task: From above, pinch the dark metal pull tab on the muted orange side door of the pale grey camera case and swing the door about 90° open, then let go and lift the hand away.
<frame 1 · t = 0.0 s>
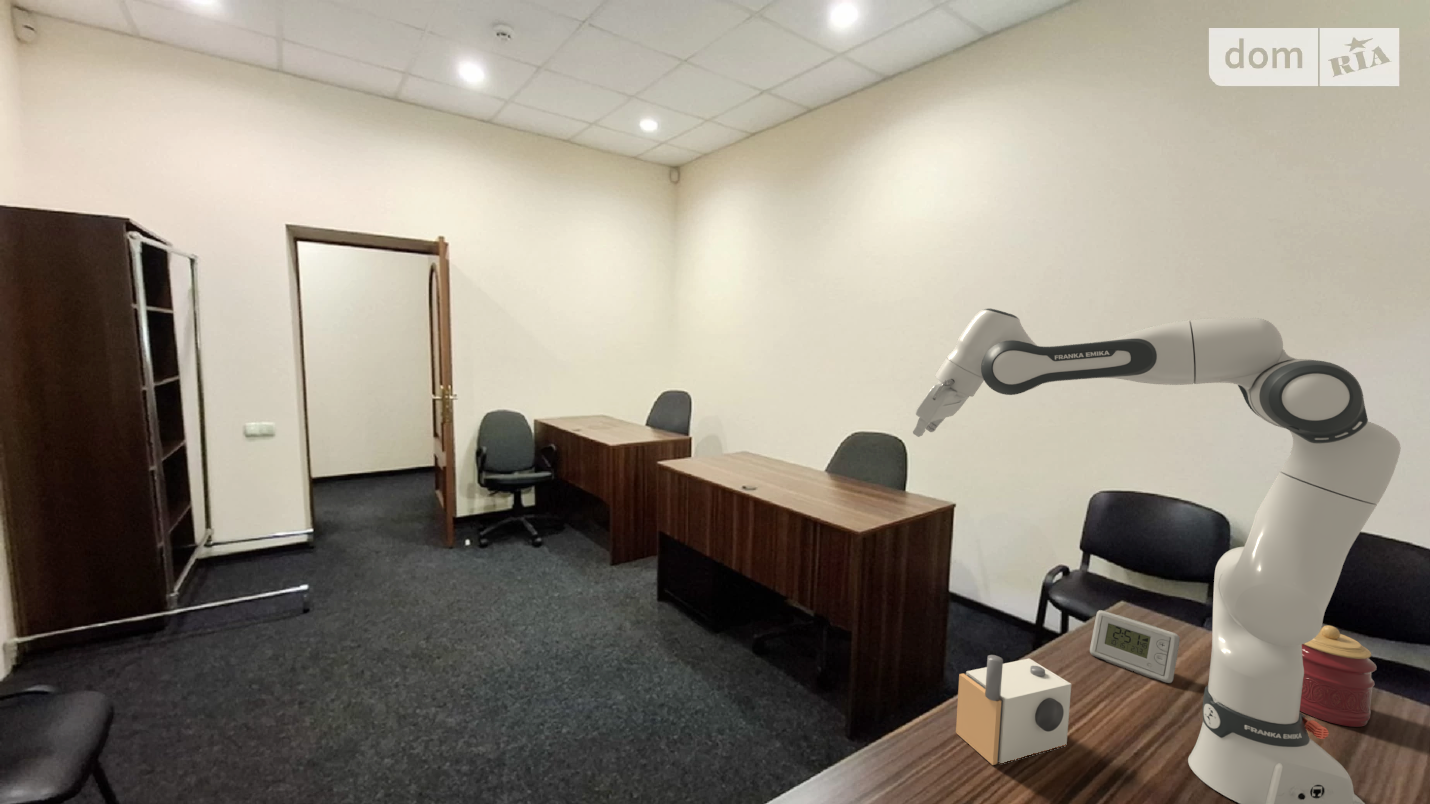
hand: (923, 432, 124), 54 cm above the table, tool tilted 30°, fingers open, 8 cm apart
digital clock: (1131, 667, 131), on the table
camera case: (1012, 738, 105), on the table
canister: (1321, 708, 116), on the table
side door: (978, 699, 101), point 9 cm above the table, hinge at 0.0°
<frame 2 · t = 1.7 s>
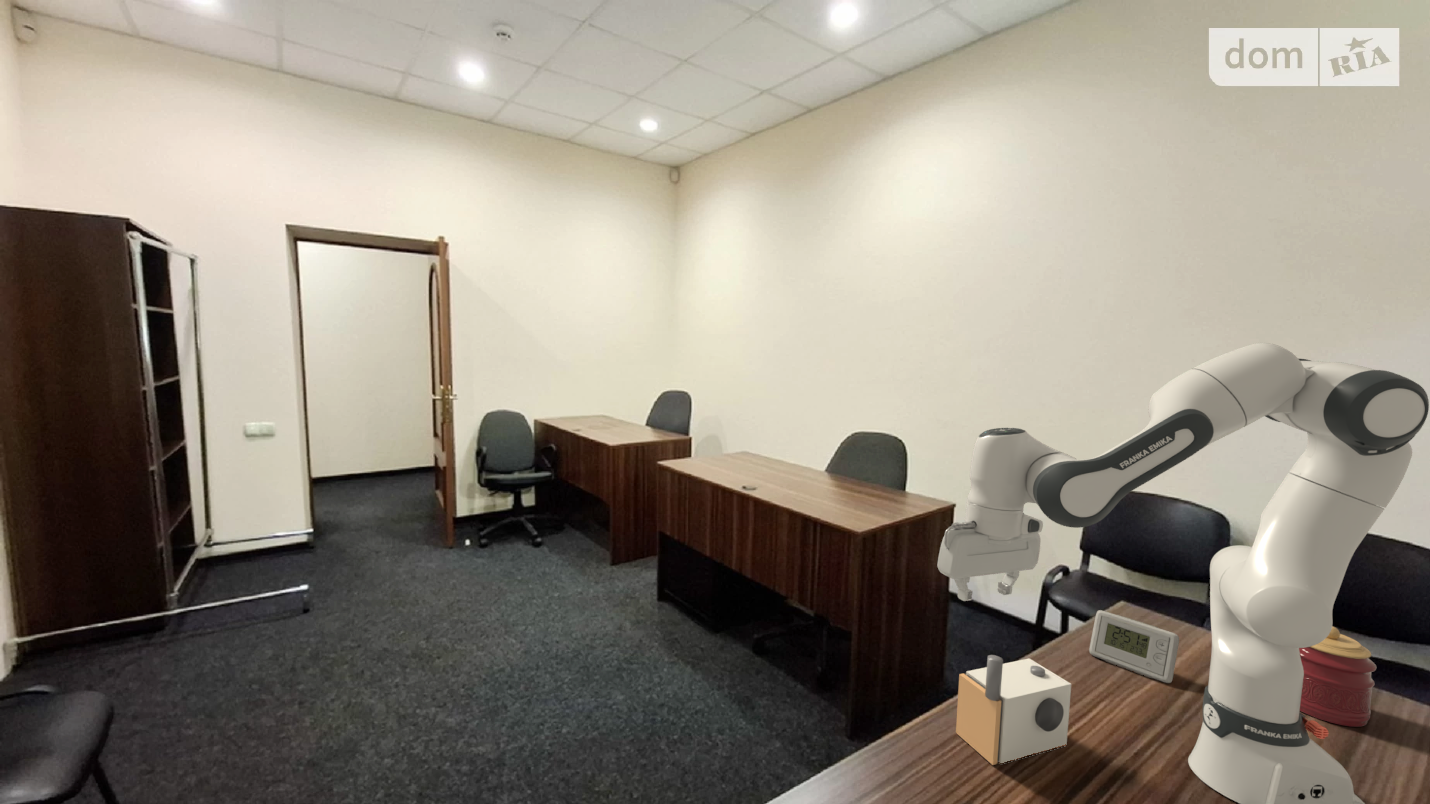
hand: (984, 596, 99), 29 cm above the table, tool pointing down, fingers open, 8 cm apart
nothing on the table moved.
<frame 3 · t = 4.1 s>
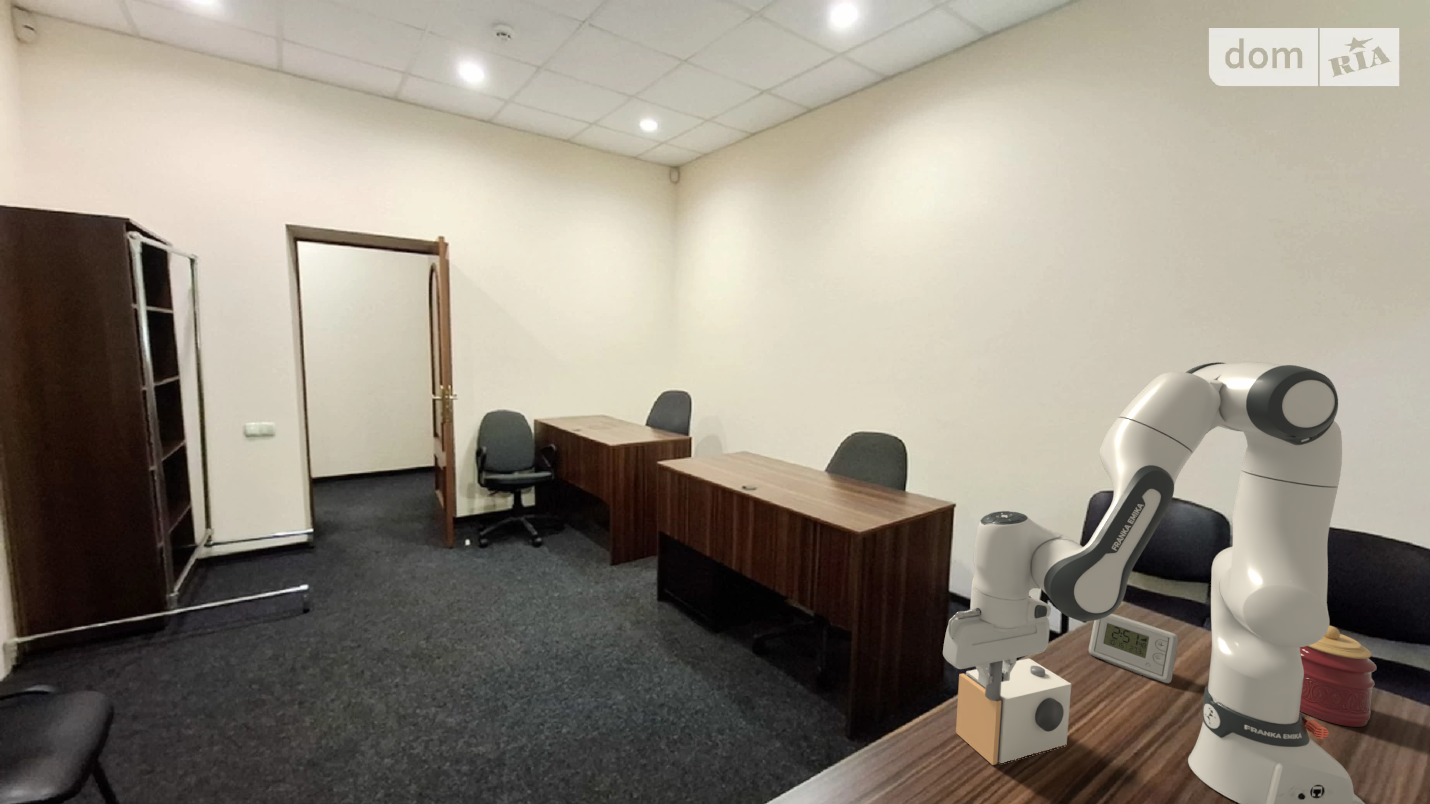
hand: (993, 681, 98), 15 cm above the table, tool pointing down, fingers closed on side door, 2 cm apart
side door: (978, 699, 101), point 9 cm above the table, hinge at 0.0°, touching gripper
everything else where it was.
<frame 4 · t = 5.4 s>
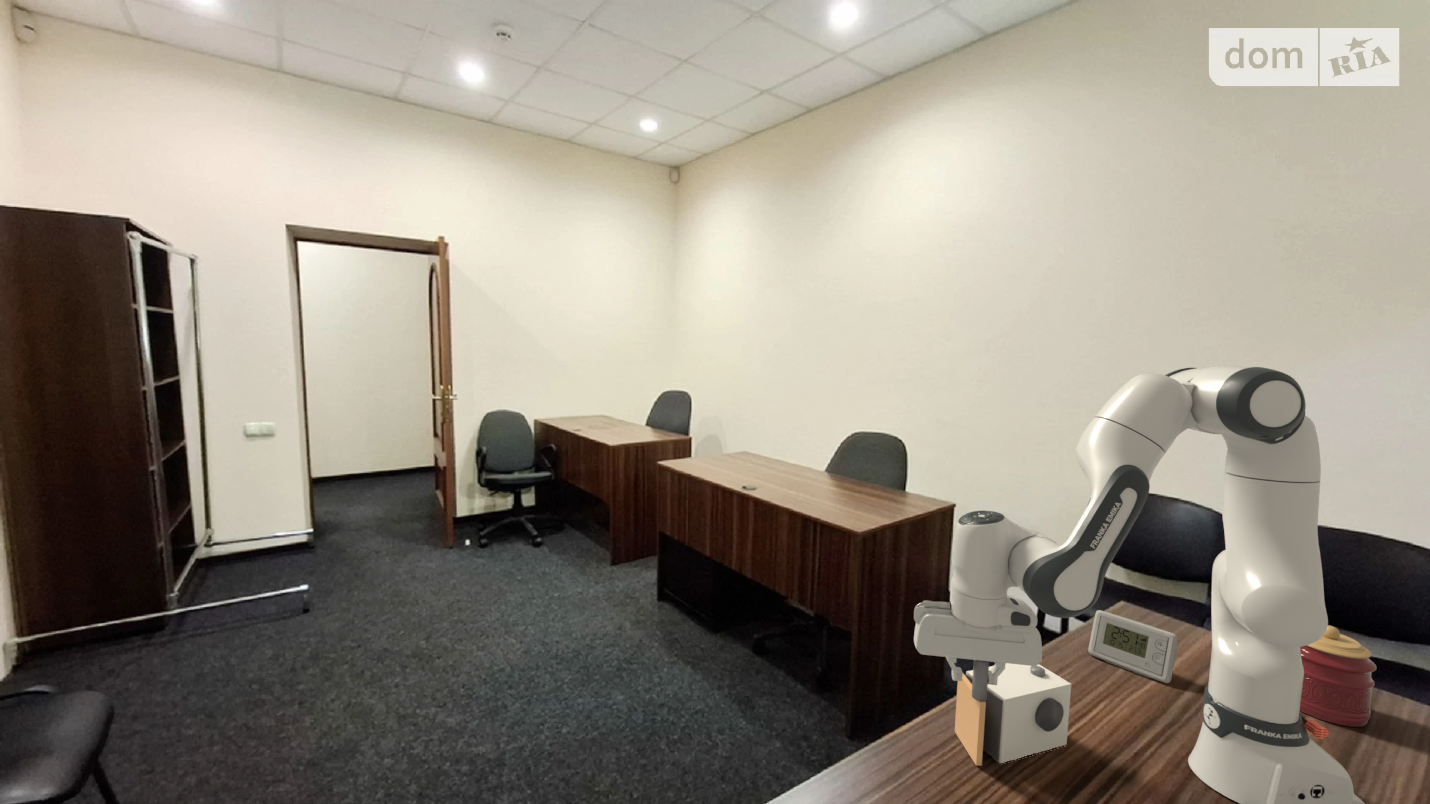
hand: (973, 681, 98), 15 cm above the table, tool pointing down, fingers open, 4 cm apart
side door: (970, 699, 101), point 9 cm above the table, hinge at 19.2°, touching gripper
everything else where it was.
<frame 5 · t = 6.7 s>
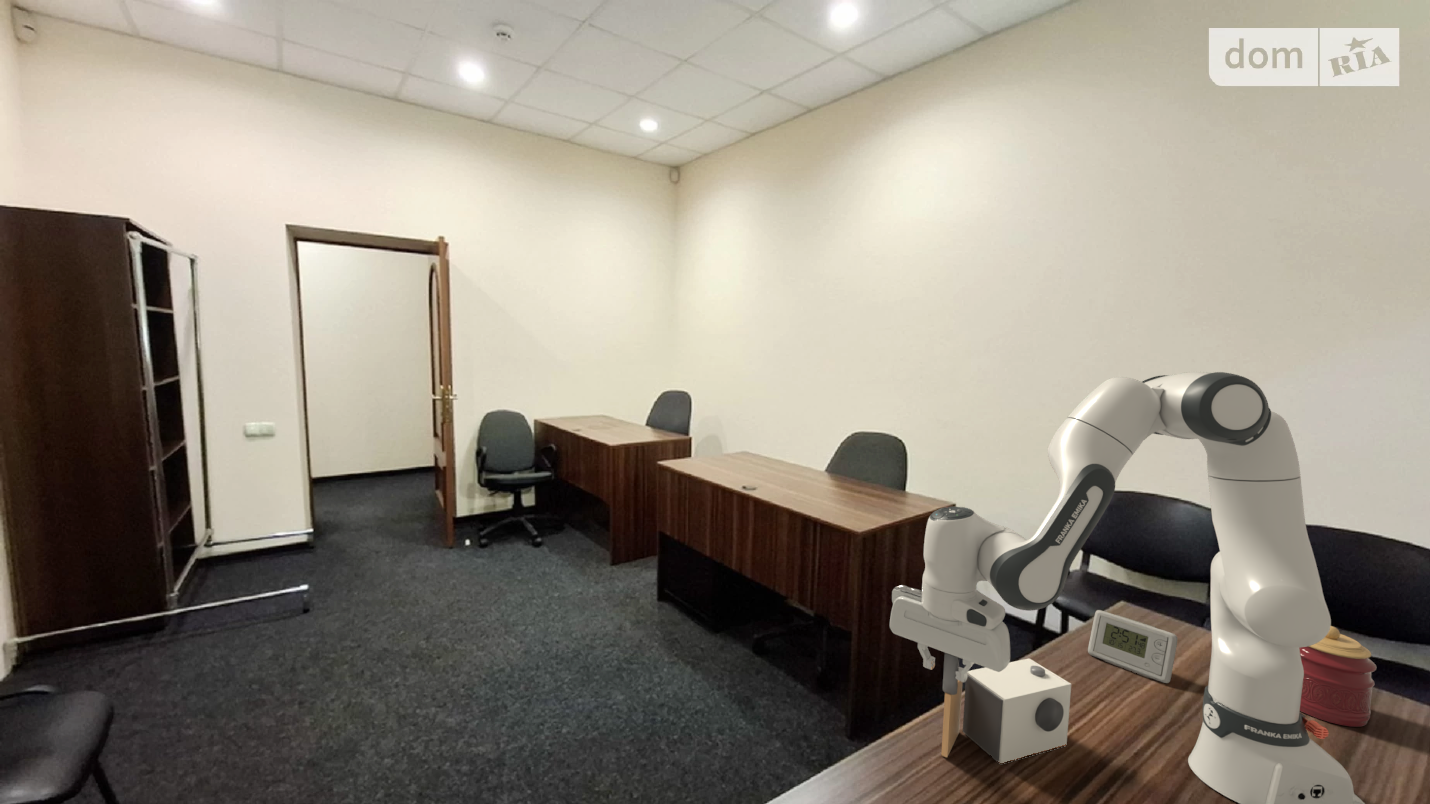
hand: (944, 673, 100), 15 cm above the table, tool pointing down, fingers open, 4 cm apart
side door: (953, 695, 102), point 9 cm above the table, hinge at 55.9°, touching gripper
everything else where it was.
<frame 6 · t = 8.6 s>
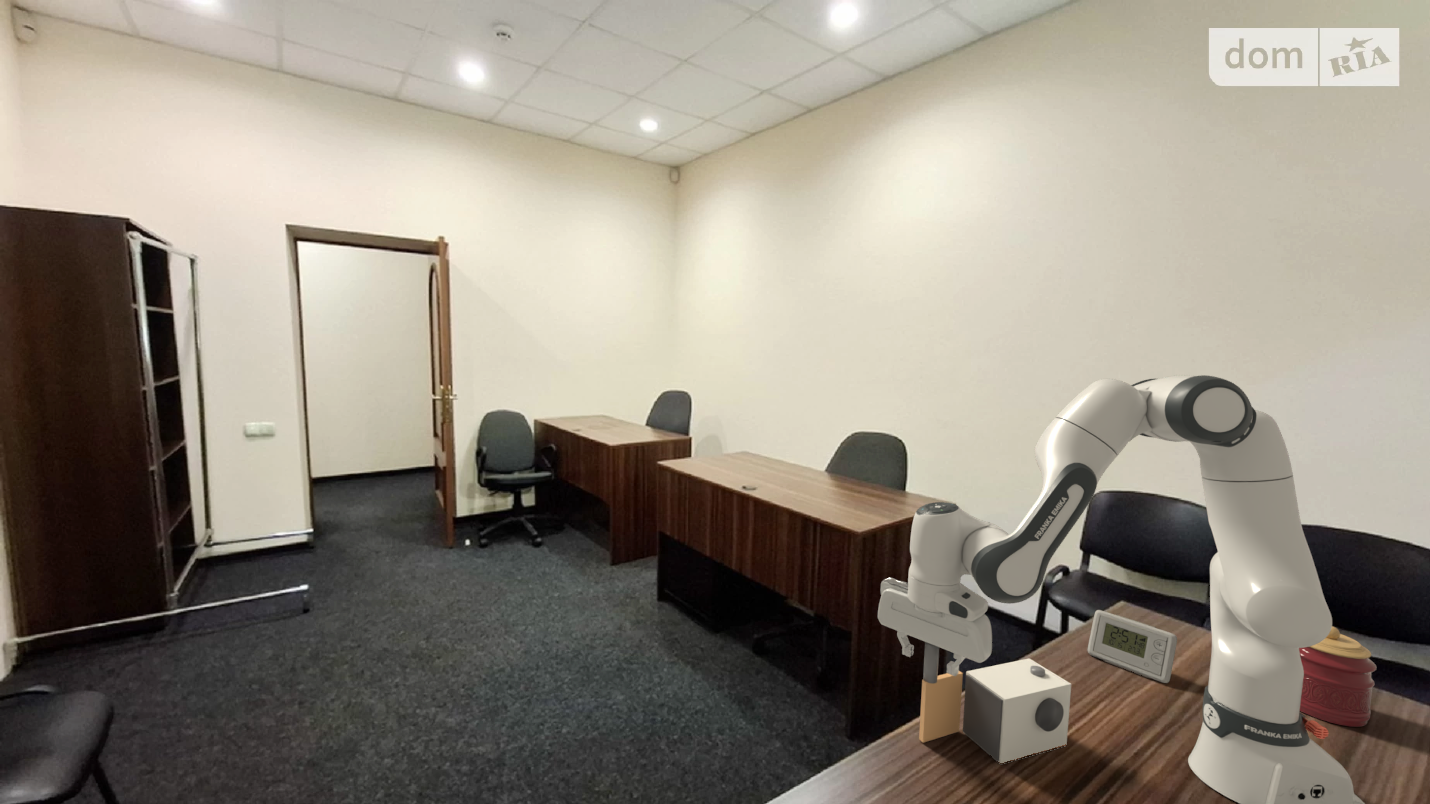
hand: (929, 664, 103), 15 cm above the table, tool pointing down, fingers open, 7 cm apart
side door: (942, 688, 104), point 9 cm above the table, hinge at 86.8°
everything else where it was.
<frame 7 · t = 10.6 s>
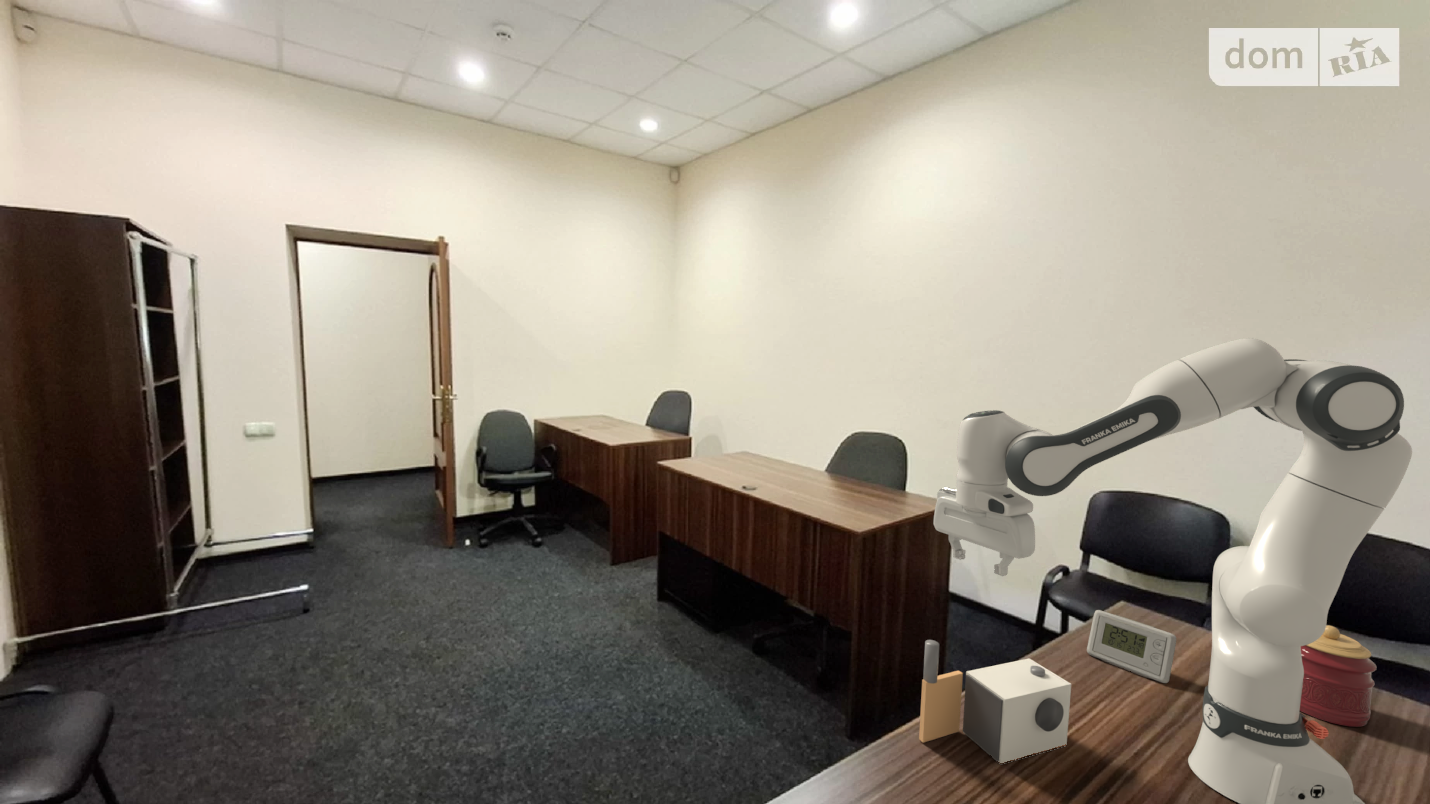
hand: (979, 566, 108), 31 cm above the table, tool pointing down, fingers open, 8 cm apart
nothing on the table moved.
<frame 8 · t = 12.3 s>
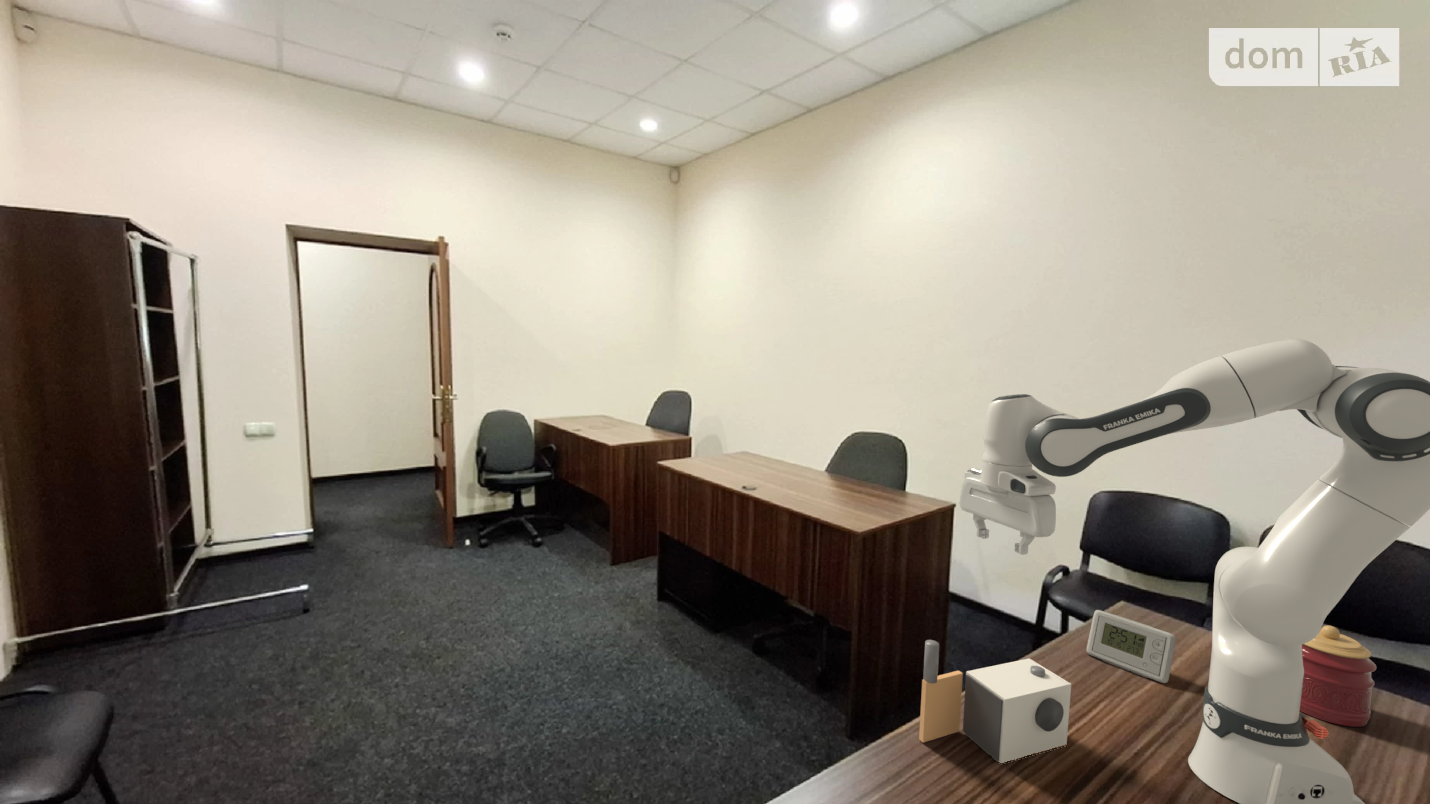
hand: (1001, 545, 111), 34 cm above the table, tool pointing down, fingers open, 8 cm apart
nothing on the table moved.
at the end: side door at +87° (first picture: +0°); the gripper is holding nothing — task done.
